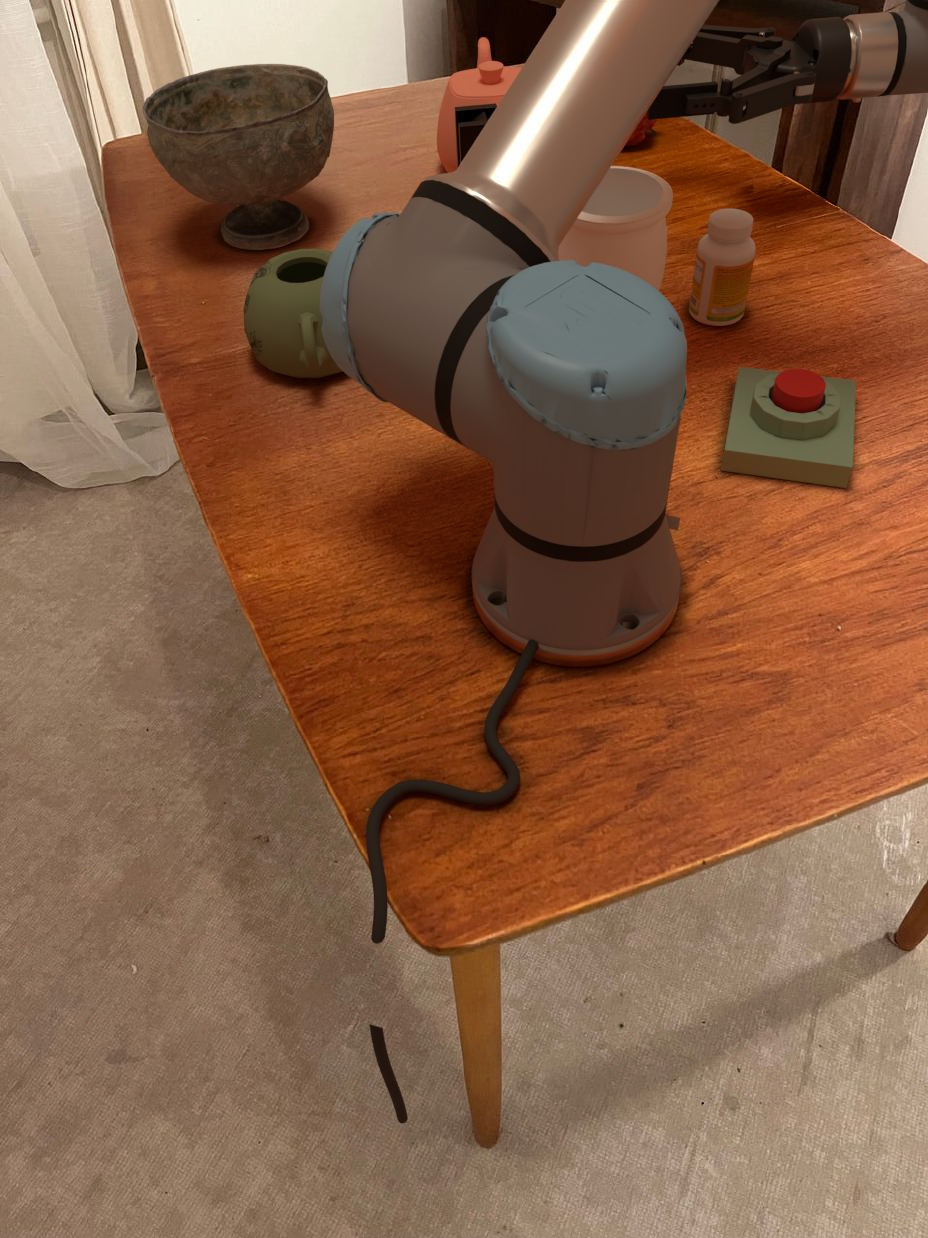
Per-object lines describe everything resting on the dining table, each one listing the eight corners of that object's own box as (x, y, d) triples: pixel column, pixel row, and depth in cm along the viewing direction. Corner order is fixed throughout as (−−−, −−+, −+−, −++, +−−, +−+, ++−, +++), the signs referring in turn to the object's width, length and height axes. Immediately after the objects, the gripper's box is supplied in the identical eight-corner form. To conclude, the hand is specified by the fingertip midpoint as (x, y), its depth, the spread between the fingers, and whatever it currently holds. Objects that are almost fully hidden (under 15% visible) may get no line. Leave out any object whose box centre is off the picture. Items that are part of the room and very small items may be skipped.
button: (820, 417, 80) (825, 399, 78) (769, 410, 80) (773, 393, 79) (822, 388, 82) (827, 371, 81) (773, 382, 83) (777, 365, 82)
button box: (846, 488, 79) (859, 449, 76) (720, 470, 81) (728, 431, 78) (850, 401, 87) (861, 362, 84) (734, 386, 89) (742, 348, 86)
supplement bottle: (754, 310, 97) (773, 215, 90) (724, 334, 94) (740, 237, 87) (708, 292, 100) (722, 198, 92) (677, 315, 97) (690, 220, 90)
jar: (651, 382, 90) (669, 224, 79) (539, 373, 92) (541, 217, 80) (659, 319, 97) (677, 166, 85) (555, 312, 98) (559, 160, 87)
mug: (251, 320, 100) (232, 239, 93) (377, 306, 100) (367, 225, 94) (249, 415, 89) (228, 331, 83) (390, 398, 90) (380, 314, 83)
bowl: (327, 177, 121) (307, 43, 110) (366, 249, 109) (348, 106, 97) (167, 207, 117) (129, 72, 106) (189, 285, 105) (149, 141, 94)
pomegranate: (628, 142, 129) (574, 104, 123) (667, 92, 125) (613, 50, 119) (648, 172, 125) (594, 134, 119) (689, 121, 120) (635, 80, 114)
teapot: (535, 131, 127) (536, 26, 118) (558, 201, 114) (562, 90, 105) (432, 139, 127) (426, 35, 118) (444, 211, 114) (437, 100, 104)
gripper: (875, 148, 94) (658, 168, 94) (791, 55, 111) (606, 71, 110) (898, 63, 89) (667, 84, 88) (806, -21, 105) (611, -5, 105)
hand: (633, 77), depth 99 cm, fingers open, 13 cm apart
